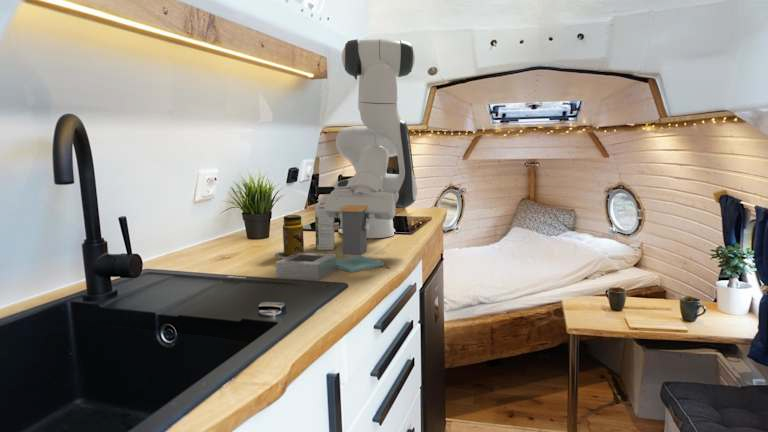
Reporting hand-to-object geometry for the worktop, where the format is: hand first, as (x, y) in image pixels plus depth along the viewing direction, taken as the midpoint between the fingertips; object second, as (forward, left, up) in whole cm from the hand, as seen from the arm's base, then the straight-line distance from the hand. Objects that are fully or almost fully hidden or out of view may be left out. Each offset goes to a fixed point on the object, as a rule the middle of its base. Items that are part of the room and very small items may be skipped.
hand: (353, 229), depth 139 cm
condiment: (-24, -7, -11) cm, 27 cm away
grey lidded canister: (0, 0, -7) cm, 7 cm away
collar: (-2, -14, -10) cm, 17 cm away
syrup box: (-25, +6, -11) cm, 28 cm away
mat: (-1, +1, -10) cm, 10 cm away
